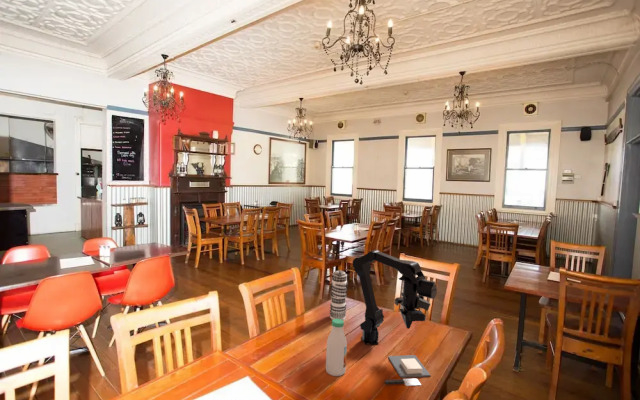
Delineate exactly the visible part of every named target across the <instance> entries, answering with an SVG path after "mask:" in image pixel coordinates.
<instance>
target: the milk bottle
mask: <svg viewBox="0 0 640 400" xmlns="http://www.w3.org/2000/svg"><path fill="white" fill-rule="evenodd" d="M344 325H345V321H344V320H341V319H331V330H330V333H329V334H328V337H327V341H326V354H325V371H326V373H327V374H328V375H329V376H331V377H341V376H342V375H345V373H346V367H347V348H348V347H347V345H348V343H347V337H346V335H345V331H344Z"/></svg>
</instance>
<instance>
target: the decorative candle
mask: <svg viewBox="0 0 640 400" xmlns="http://www.w3.org/2000/svg"><path fill="white" fill-rule="evenodd" d="M331 275H332V279H331V283H330V297H331V300H330V307H329V308H330V309H329V318H330V319H331V320H333V319H341V320H343V321H344V320H346V316H347V311H346V310H347V303H346V301H347V300H346V299H347V296H348V295H347V293H348V286H349V285H348V281H347V276H348V274H347V273H346V272H345V271H344V270H335V271H333V273H331Z"/></svg>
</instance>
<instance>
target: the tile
mask: <svg viewBox="0 0 640 400" xmlns="http://www.w3.org/2000/svg"><path fill="white" fill-rule="evenodd" d="M400 364H401V365H402V367H403V368H404V370H405V371H406V373H407V374H420V373H422V367H421V366H420V365H419V363H418V362H417V361H416V359H415V358H412V359H401V362H400Z"/></svg>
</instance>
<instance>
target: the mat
mask: <svg viewBox="0 0 640 400" xmlns="http://www.w3.org/2000/svg"><path fill="white" fill-rule="evenodd" d="M387 358H388V359H389V361H390V363H391V365H392V367H393V368H394V370H395V371H396V373H397V374H398V376H399V377H400V378H399V379H407V378H426V377H428V376H429V377H431V373H430V372H429V371H428V370H427V368H426V367H425V365H424V364H422V362H421V361H420V359H419V358H418V357H417V355H416V354H413V355H412V354H409V355H408V354H407V355H388V357H387ZM412 358H415V359H416V361H417V362H418V363H419V365H420V366H421V367H422V373H420V374H407V373H406V371H405V370H404V368H403V367H402V365H401V364H400V362H401V359H412Z"/></svg>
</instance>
